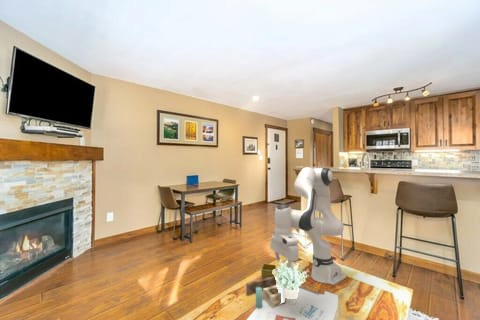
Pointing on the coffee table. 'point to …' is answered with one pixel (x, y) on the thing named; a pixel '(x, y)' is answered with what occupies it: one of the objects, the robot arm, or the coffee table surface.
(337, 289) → the coffee table surface
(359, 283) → the coffee table surface
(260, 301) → the dowel
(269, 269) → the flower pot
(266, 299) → the block
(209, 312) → the coffee table surface
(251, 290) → the wall
